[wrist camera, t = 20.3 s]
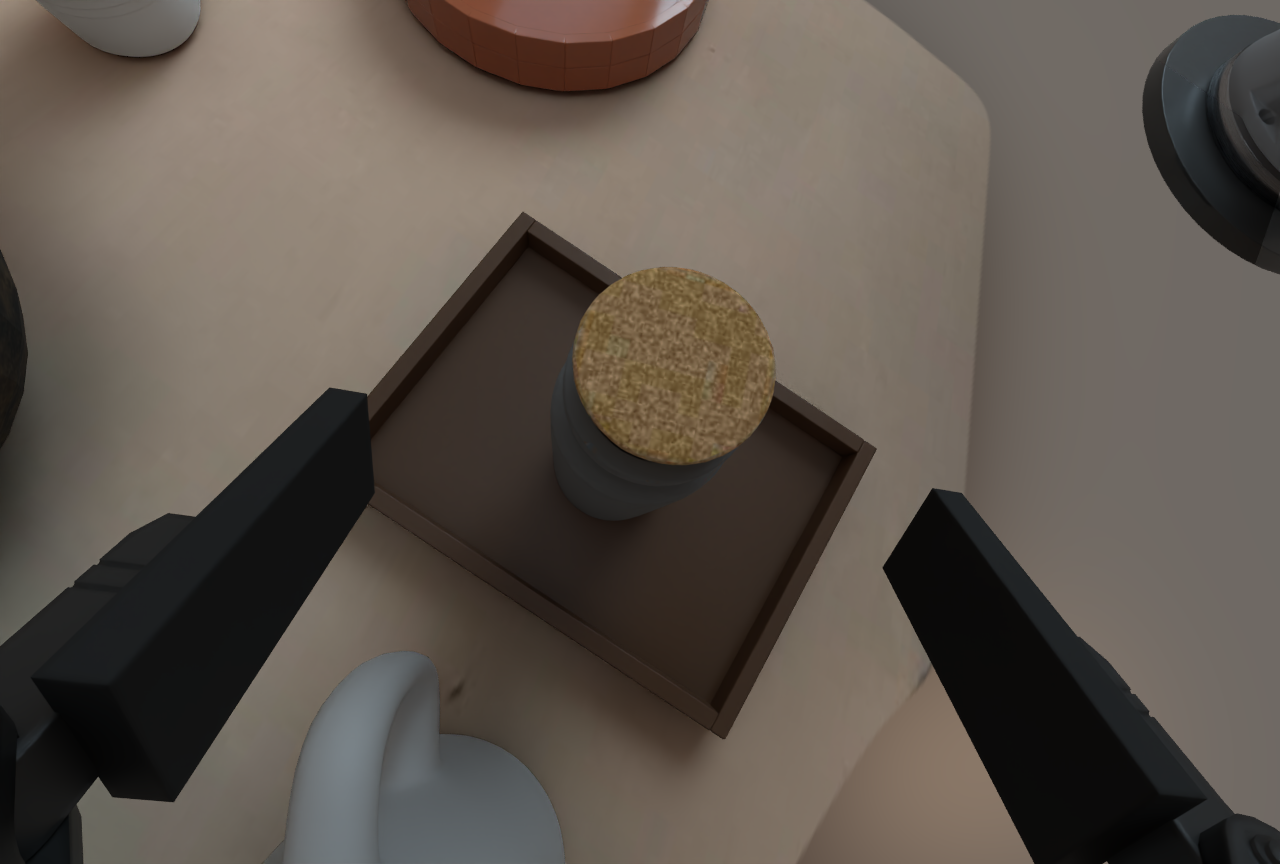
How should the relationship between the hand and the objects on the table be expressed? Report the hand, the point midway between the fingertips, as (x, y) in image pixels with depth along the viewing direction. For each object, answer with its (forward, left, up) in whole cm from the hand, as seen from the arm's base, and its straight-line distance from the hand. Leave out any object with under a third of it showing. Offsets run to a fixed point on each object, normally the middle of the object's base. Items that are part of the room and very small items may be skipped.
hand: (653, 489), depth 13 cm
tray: (+1, -2, -14) cm, 15 cm away
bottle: (+1, -2, -14) cm, 14 cm away
